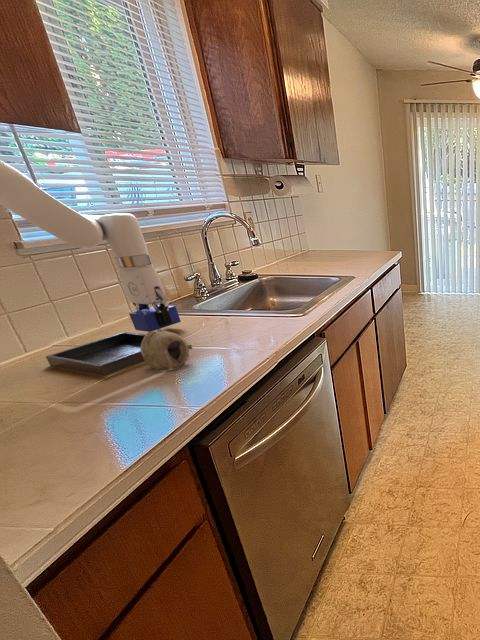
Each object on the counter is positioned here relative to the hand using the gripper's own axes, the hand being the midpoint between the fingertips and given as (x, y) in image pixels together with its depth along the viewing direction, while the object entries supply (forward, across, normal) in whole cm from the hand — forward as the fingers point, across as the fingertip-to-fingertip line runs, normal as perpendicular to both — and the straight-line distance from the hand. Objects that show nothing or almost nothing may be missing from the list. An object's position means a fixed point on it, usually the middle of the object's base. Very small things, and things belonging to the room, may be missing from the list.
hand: (157, 323), depth 116 cm
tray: (+4, +7, -16) cm, 18 cm away
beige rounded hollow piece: (+4, +25, -15) cm, 29 cm away
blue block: (+1, 0, 0) cm, 1 cm away
